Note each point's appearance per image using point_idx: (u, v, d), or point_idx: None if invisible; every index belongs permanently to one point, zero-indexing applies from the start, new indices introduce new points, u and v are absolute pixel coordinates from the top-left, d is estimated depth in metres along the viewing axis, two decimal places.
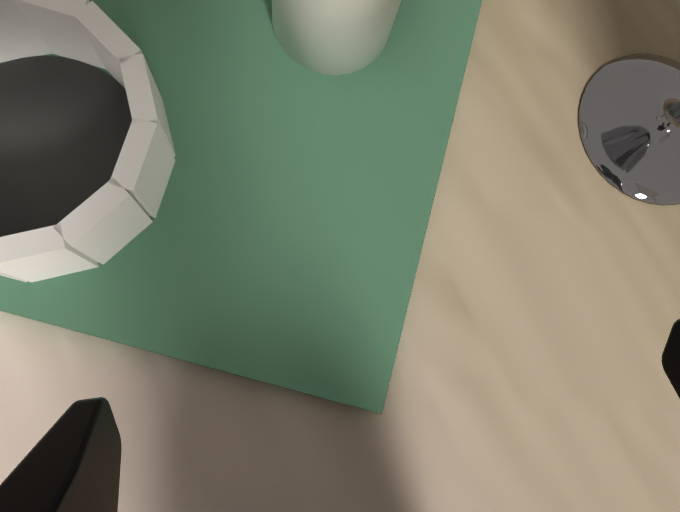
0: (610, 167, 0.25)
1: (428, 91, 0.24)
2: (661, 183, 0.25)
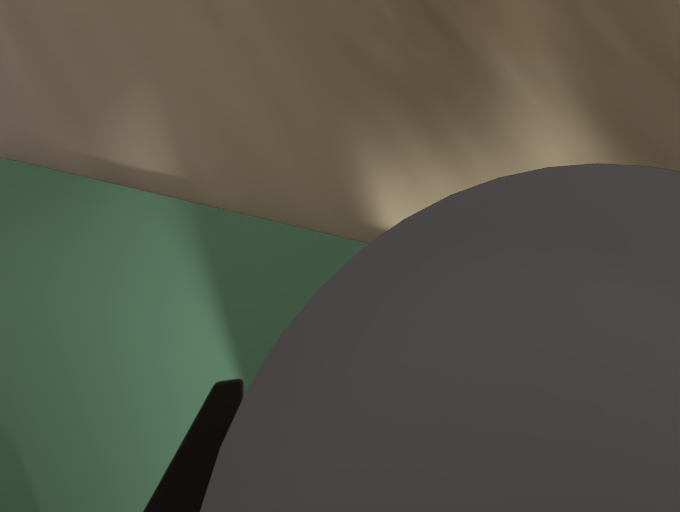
0: None
1: None
2: None
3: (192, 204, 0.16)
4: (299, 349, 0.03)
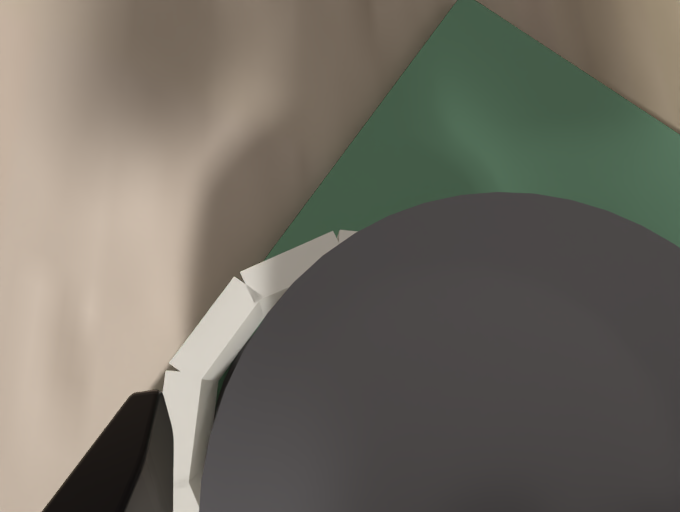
0: None
1: None
2: None
3: (664, 126, 0.19)
4: (279, 324, 0.05)
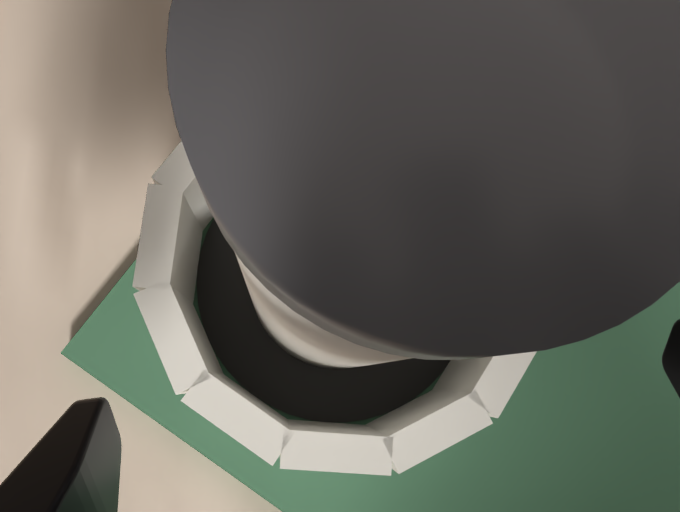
0: None
1: None
2: None
3: None
4: None
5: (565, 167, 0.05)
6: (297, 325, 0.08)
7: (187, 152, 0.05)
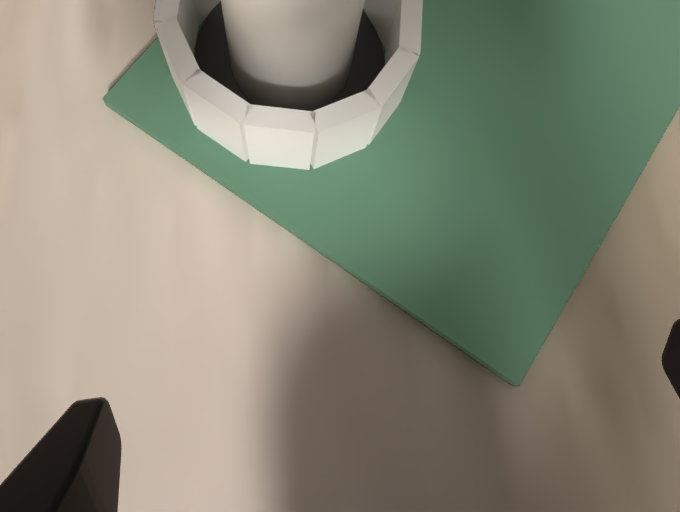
0: None
1: (639, 116, 0.25)
2: None
3: None
4: None
5: None
6: None
7: None
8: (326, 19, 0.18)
